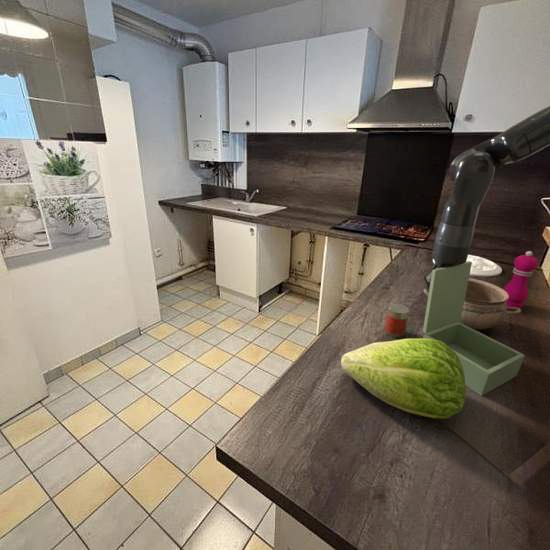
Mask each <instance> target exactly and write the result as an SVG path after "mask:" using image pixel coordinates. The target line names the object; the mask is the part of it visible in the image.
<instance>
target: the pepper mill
mask: <svg viewBox="0 0 550 550" xmlns="http://www.w3.org/2000/svg"><path fill="white" fill-rule="evenodd" d="M533 255H534V253H533V252H532V251H531V250H528V251H526V252H525V254H521V255H519V256H517V257H516V258H515V259H514V261H513V266H514V267H513V270H512V273H513V276H512V278H511V280H510V281H509V282H508V283H507V284H506V285H505V286H504V287H502V289H503V290H504V291H506V292H507V293H508V295H509V298H508V299H507V300H506V306H508V307H516V308H520V309H521V310H522V309H523V306H524V302H525V301H527V300H528V298H529V288H528V280H529V278H530V277H531V276H532V275H533V270H535V269H537V267H538V265H539V262H538V259H537V258H536V257H534V256H533Z"/></svg>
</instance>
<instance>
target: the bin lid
mask: <svg viewBox="0 0 550 550" xmlns="http://www.w3.org/2000/svg"><path fill="white" fill-rule="evenodd" d="M471 265H472V262H470V261H467V262H465V263H464V264H459V265H451V266H447V267H443V268H438V269H434V270H432V269H431V272H432V276H431V283H430V289H429V296H428V295H427V303H426V310H425V315H424V320H423V321H424V322H423V328H422V333H423V334H424V335H425V334H427V333H430V332H433V331H435V330H438V329H441V328H443V327H446V326H449V325H451V324H453V323H456V322H459V321H460V320H461V315H462V310H463V305H464V300H465V295H466V290H467V285H468V280H469V278H470V270H471Z"/></svg>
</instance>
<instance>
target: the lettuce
mask: <svg viewBox="0 0 550 550" xmlns="http://www.w3.org/2000/svg"><path fill="white" fill-rule="evenodd" d="M340 364H341V370H342V372H344V373H345V374H347V375H348V376H349V377H350V378H352V379H353V380H354V381H355V382H356V383H358V385H360V386H361V387H362V388H364V389H365V390H366V391H367V392H369V393H370V394H371V395H372V396H373V397H375V398H378V399H379V400H380V401H382V402H384V403H386V404H387V405H390V406H391V407H393V408H396V409H398V410H402V411H403V412H406V413H408V414H413V415H417V416H422V417H426V418H432V419H446V420H447V419H450V418H452V417H453V416H455V415H457V414H459V413H461V412H462V411H463V407H464V406H465V403H466V391H467V389H466V388H467V386H466V385H465V376H464V370H463V367H462V364H461V361H460V359H459V358H458V356H457V354H456V353H455V352H454V351H453V350H452V349H451V348H450V347H448V346H447V345H446V344H445V343H444V342H442V341H440V340H435V339H429V338H423V337H422V338H420V337H418V338H415V337H414V338H413V337H412V338H403V339H402V338H400V339H396V340H395V339H394V340H389V341H378V342H375V341H374V342H372V343H369V344H367V345H363V346H361V347H359V348H356V349H354V350H351V351H348V352H346V353H344V354H343V355H341V360H340Z"/></svg>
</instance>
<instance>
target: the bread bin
mask: <svg viewBox="0 0 550 550" xmlns="http://www.w3.org/2000/svg"><path fill="white" fill-rule="evenodd" d="M422 338H429V339H435V340H440V341H442V342H444V343H445V344H446V345H447V346H448V347H450V348H451V349H452V350H453V351H454V352H455V353H456V354H457V356H458V358H459V359H460V361H461V364H462V367H463V370H464V376H465V385H466V388H468V389H470V390H472V391H473V392H474V393H476V394H478V395H479V396H484V395H486V394H487V393H489V392H491V391H492V390H494V389H496V388H498V387H500V386H501V385H503V384H505V383H507V382H508V381H511V380H513V379H514V378H516V377H517V376H518V374H519V371H520V369H521V366H522V364H523V362H524V360H525V357H526V355H525V354H524V353H522V352H520V351H517V350H515V349H514V348H512V347H510V346H508V345H505V344H504V343H501V342H500V341H497V340H495V339H493V338H491V337H489V336H488V335H486V334H484V333H481V332H480V331H478V330H474V329H472V328H470V327H468V326H466V325H464V324H462V323H460V322H457V323H454V324H451V325H448V326H445V327H442V328H440V329H437V330H434V331H432V332H429V333H426V334H425V333H424V334H423V336H422Z"/></svg>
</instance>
